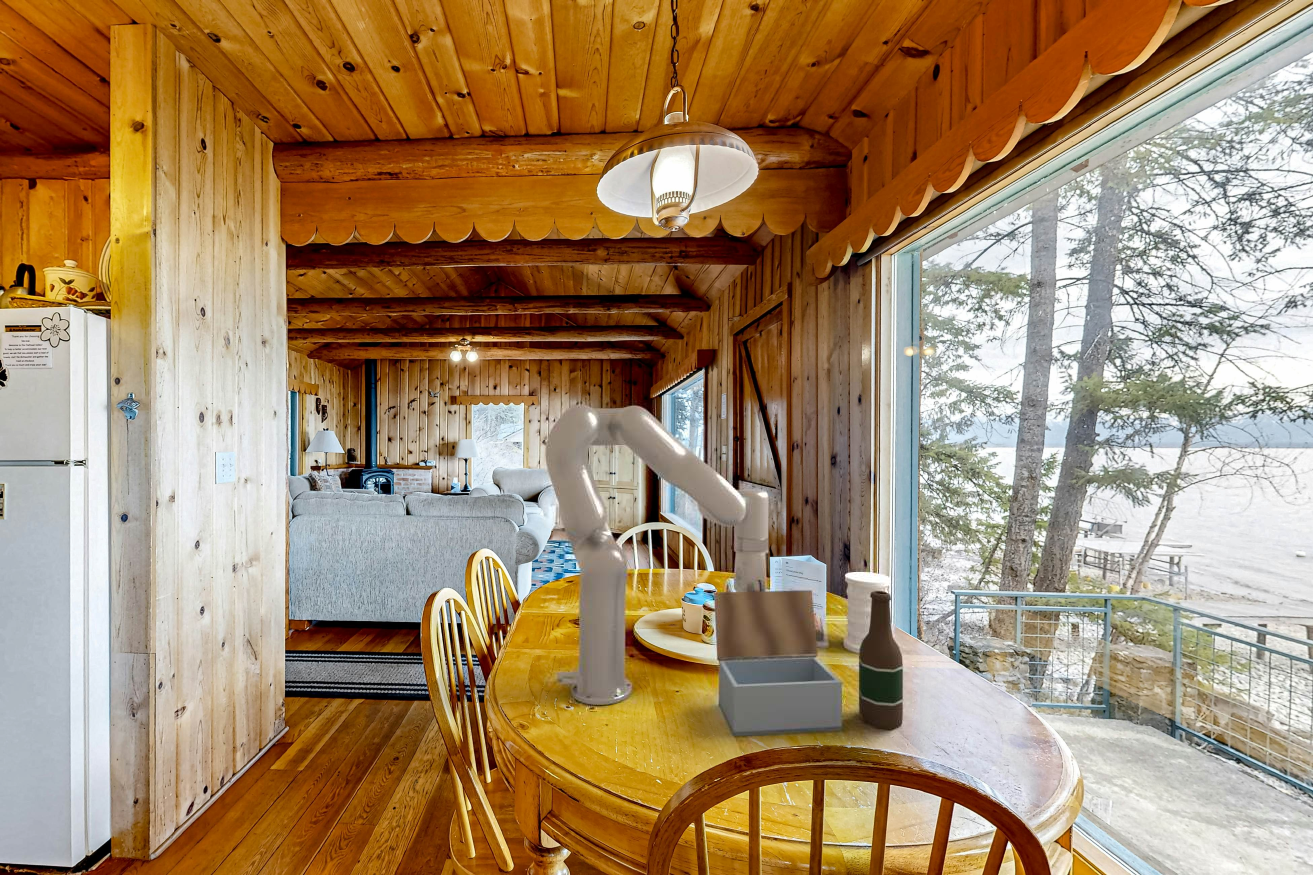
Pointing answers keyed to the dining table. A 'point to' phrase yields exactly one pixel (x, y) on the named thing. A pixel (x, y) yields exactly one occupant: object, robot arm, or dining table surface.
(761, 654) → the lid
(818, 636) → the packaged product
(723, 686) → the crate
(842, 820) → the dining table surface
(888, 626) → the beer bottle
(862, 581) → the decorative container
